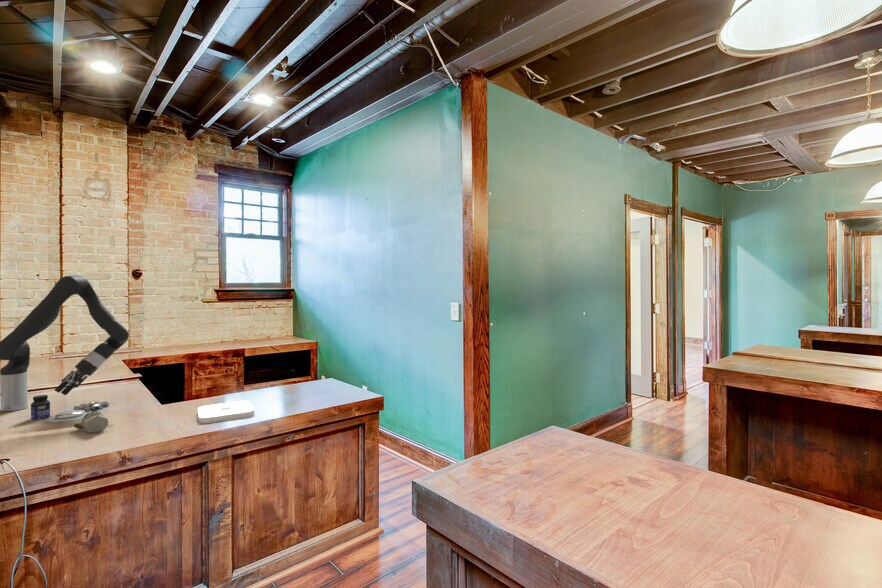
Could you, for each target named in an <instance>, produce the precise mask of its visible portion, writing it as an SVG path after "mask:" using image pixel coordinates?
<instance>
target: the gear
mask: <svg viewBox="0 0 882 588" xmlns="http://www.w3.org/2000/svg"><path fill="white" fill-rule="evenodd" d="M109 404H110V403H109V402H108V401H101V402H98V401H90V402H88V403H81V404H79V405H75V406H73V408H74V410H85V412H89V411H91V410H100V409H103V407H107V408H108V407H109V406H110V405H109Z"/></svg>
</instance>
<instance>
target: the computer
mask: <svg viewBox="0 0 882 588" xmlns="http://www.w3.org/2000/svg"><path fill="white" fill-rule="evenodd" d="M251 403H252V402H250V401H249V400H239V401H230V402H224V403H215V404H208V405H202V406H198V408H197V420H198V423H199V424H208V423H217V422H223V421H231V420H237V419H243V418H250V417H253V416H254V415H255V408H254V407H253V405H252V404H251Z"/></svg>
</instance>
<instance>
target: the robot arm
mask: <svg viewBox="0 0 882 588" xmlns="http://www.w3.org/2000/svg"><path fill="white" fill-rule="evenodd" d="M75 295H78V296H79V297H80V298H81V299H82V300H83V301H84V302H85V304H86V306H87V308H88V311H89V314H90V316H91V318H92V320H94V321H95V322H94V323H96V324H97V325H98V326H99V327H100V328H101V329H102V330H104V331H105V332H106V333H107V334H108V336H109V337H108V338H106V339H105V340H104V341H103V342H101V343H100V344H98V345H97V346H96V347H95V348H94V349H92V351H91V352H89V353H87V354H86V355H85V356H84V358H82V359H81V360H80V361H79V362H78V363H76V364H75V366H74V367H75V369H76V370H75V371H74V370H72V371H70V372H69V373H68V374H67V375H66V376H65V377H64V378H63V379H61V381H60V384H58V386H57V387H55V388H54V392H56V393H58V394H59V393H61V395H64V396H66V395H68V394H69V393H70V392H71V391H72V390H73V389H75V388H79V386H80V385H81V384H82V383H83V382H84V381H85V380H86V379H87V378H88V377H90V376H92V375H93V374H94V373H95V372H97V370H98V369H99V368H100V367H102V366H103V364H105V362H106V361H107V360H108V359H109V358H110V357H111V356H112V355H113V354H114V353H115V352H116V351H117V350H119V349H120V348H121V347H122V346H123V345H125V344H126V342H128V340H129V337H130V334H129V331H128V329H127V328H125V326H124V325H122V323H120V322H119V321H118V320H117V319H116V318H115V316H113V314H112V313H111V312H110V310H108V309H107V307H106V306H105V305H104V303H103V302H102V301H101V299H100V298H99V295H98V294H97V293H96V291H95V290H94V287H93V286H92V284H91V283H90V282H89V280H88V279H87V278H86V277H85V276H83V275H81V274H79V275H78V274H75V275H74V274H73V275H65V276H63V277H61V278H59V279H58V281H57V282H56V283H55V284H54V286H53V287H52V288H51V290H50V291H49V292H48V294H47V295H46V296H45V297H44V298H43V299H42V300H41V301H40V302H39V303H38V304H37V305H36V306H35V308H33V309H32V310H31V311H30V312H29V313H28V315H27V316H26V317H25V318H24V319H23V320H22V321H21V322H20V323H19V324H18V325H17V326H16V327H15V328H14V329H13V331H11V332H10V333H9V334H8V335H6V336H5V337H4V338H3V339H2V340H0V361H8V362H7V364H6V365H4V366H2V367H1V368H0V411H1V412H15V411H20V410H24V409H26V408H28V407H29V403H28V402H29V401H28V400H29V399H28V398H29V397H28V396H29V395H28V394H29V393H28V391H29V390H28V388H29V387H28V368H29V366H30V359H31V358H30V357H31V356H30V355H31V348H30V344H29V343H28V340H30V339H31V338H33V337H35V336H37V335H39V334H40V333H41V332H44V331H45V330H46V329H47V328H49V327H50V326H51V325H52V324H53V323H54V322H55V321H56V320H57V318H58V316H59V314H60V311H61V307H62V306H63V304H64V303H65V302H66V301H68V299H69V298H70V297H72V296H75Z"/></svg>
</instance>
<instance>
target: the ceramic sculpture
mask: <svg viewBox="0 0 882 588" xmlns="http://www.w3.org/2000/svg"><path fill="white" fill-rule="evenodd" d="M108 425H109V420H108V417H105V416H104V415H103V413H102V412H101V413H100V412H99V411H97V410H92V411H91V412H90V413H87V414H86V415H85V416H84V417H83V419H81V422H77V423H74V426H73V427H74V428H76V429H77V430H86V431H87V432H88V433H89V434H97V433H100V432H103V431H105V430H106V428H107V427H108Z"/></svg>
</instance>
